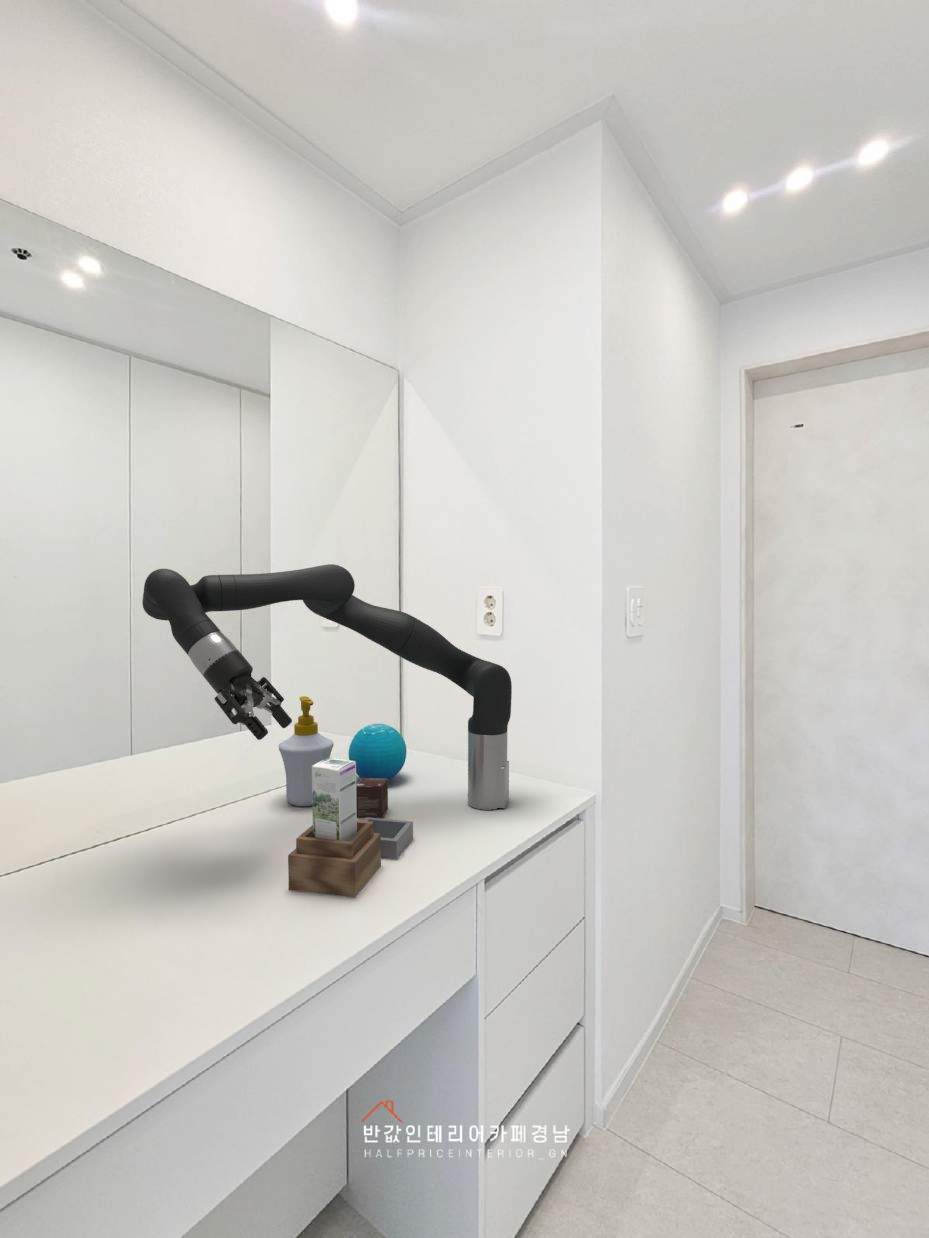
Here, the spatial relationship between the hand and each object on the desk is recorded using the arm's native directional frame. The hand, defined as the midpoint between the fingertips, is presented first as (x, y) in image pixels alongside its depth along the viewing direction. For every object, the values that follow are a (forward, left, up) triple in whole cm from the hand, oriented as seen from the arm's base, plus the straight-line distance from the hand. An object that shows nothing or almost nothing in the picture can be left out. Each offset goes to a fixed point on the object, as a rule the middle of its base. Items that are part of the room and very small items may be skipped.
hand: (276, 730), depth 112 cm
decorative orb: (0, -51, -25) cm, 57 cm away
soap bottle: (+11, -33, -25) cm, 43 cm away
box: (-7, -29, -26) cm, 39 cm away
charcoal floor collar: (-15, -13, -25) cm, 32 cm away
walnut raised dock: (-12, +1, -25) cm, 28 cm away
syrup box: (-11, +1, -19) cm, 23 cm away
